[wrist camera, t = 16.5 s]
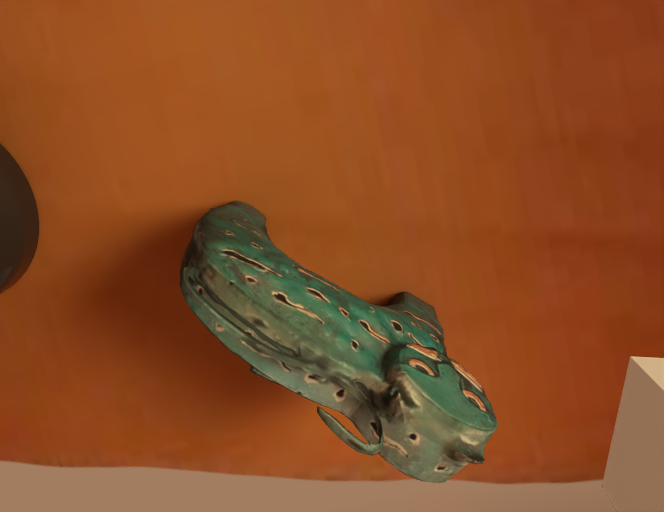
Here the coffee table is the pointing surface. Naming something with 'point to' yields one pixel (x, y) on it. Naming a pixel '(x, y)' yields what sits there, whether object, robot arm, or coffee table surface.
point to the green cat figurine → (337, 348)
